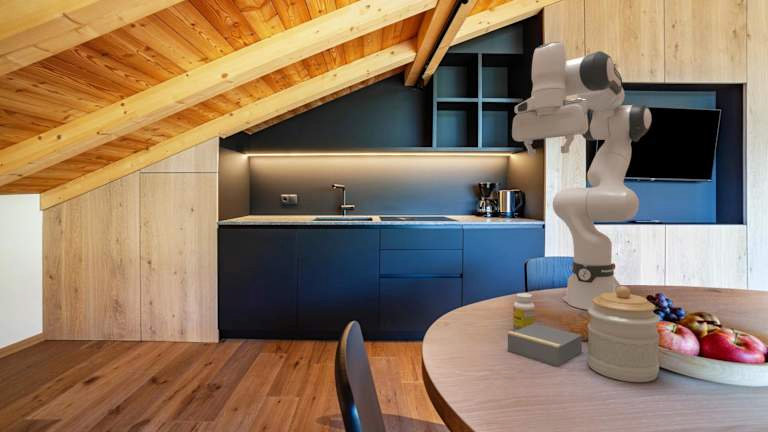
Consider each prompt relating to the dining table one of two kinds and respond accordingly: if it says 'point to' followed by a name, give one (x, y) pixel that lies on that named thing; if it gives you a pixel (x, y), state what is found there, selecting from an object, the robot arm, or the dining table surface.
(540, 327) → the block
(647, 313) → the jar
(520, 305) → the supplement bottle
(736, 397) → the dining table surface
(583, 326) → the pastry
